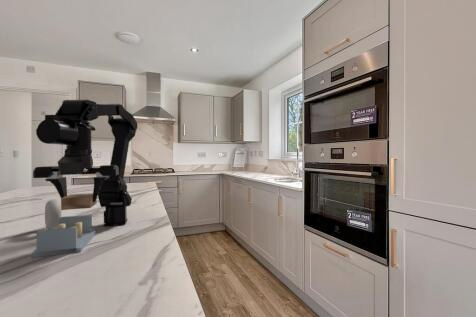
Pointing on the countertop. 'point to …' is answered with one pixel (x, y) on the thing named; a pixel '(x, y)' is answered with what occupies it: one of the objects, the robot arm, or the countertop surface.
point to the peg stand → (65, 236)
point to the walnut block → (77, 201)
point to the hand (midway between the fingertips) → (79, 202)
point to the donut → (52, 214)
